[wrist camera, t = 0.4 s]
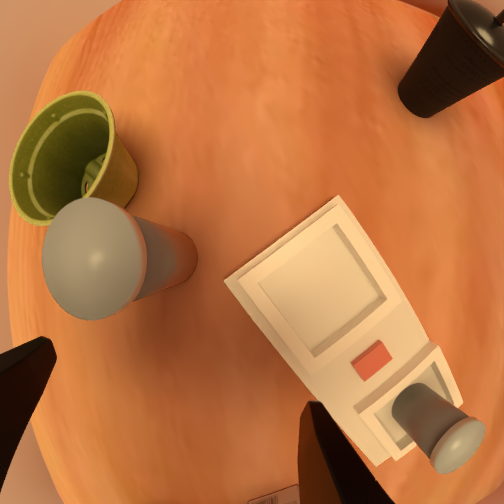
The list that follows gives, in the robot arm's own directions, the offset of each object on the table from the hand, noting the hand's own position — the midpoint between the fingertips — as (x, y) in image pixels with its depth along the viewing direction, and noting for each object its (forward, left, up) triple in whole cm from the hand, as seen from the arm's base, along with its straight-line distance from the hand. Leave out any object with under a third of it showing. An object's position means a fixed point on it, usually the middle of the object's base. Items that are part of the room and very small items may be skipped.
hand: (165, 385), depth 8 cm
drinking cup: (+28, +4, -15) cm, 32 cm away
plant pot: (-2, +14, -15) cm, 21 cm away
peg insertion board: (+7, -11, -15) cm, 20 cm away
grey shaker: (-1, +5, -15) cm, 16 cm away
